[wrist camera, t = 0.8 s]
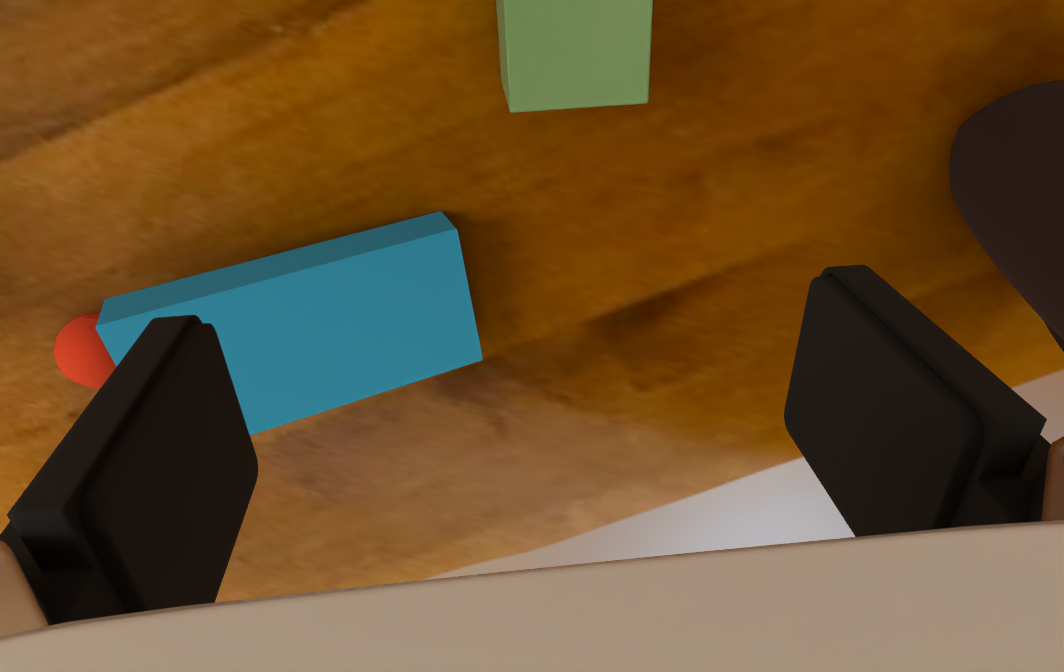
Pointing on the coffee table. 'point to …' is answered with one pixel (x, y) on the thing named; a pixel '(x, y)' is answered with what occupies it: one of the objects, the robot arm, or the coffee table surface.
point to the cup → (1018, 192)
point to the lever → (308, 320)
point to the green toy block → (574, 53)
